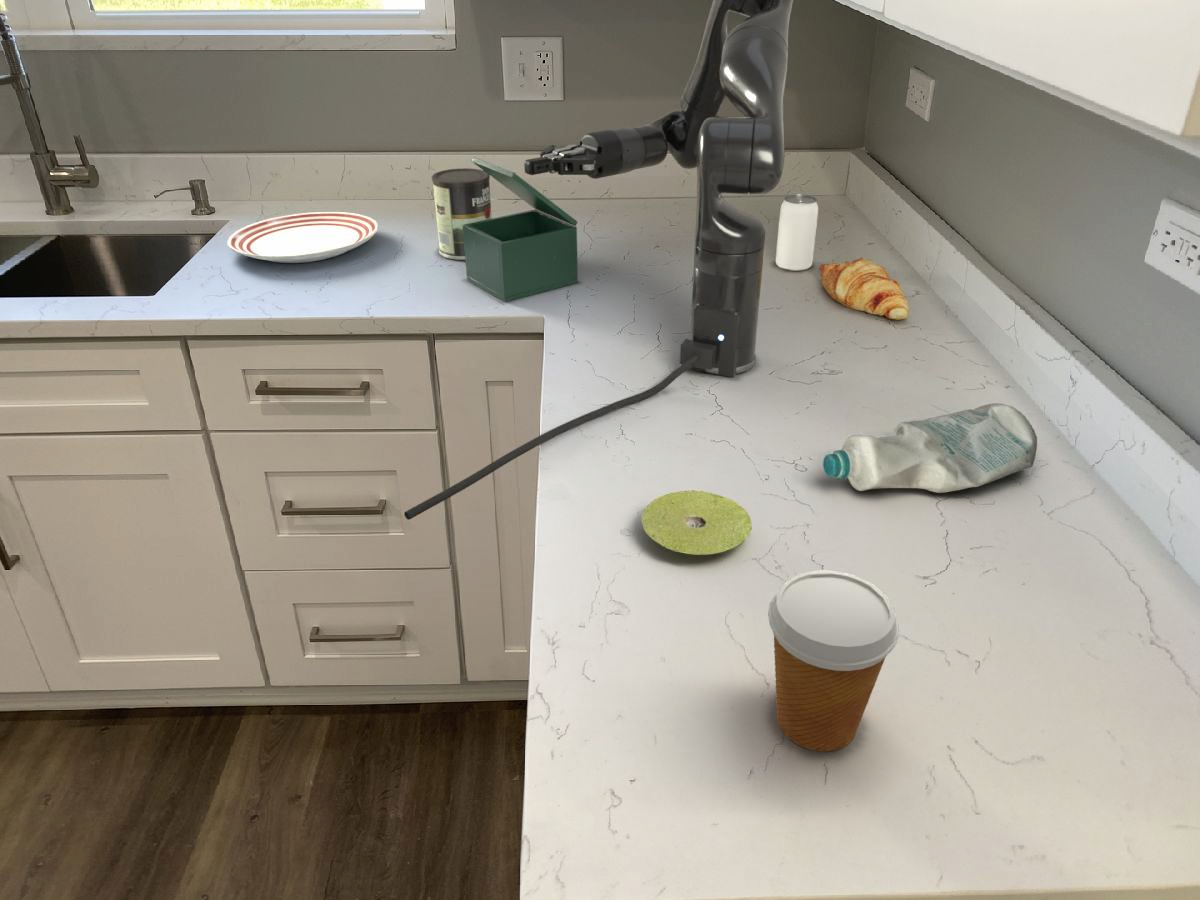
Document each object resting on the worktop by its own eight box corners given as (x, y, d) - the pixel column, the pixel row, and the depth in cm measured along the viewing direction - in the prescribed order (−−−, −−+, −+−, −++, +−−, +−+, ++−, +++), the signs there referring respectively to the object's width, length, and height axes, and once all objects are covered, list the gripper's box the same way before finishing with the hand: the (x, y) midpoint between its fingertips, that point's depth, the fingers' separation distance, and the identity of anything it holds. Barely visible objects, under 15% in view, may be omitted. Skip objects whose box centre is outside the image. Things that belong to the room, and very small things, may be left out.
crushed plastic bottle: (981, 431, 114) (794, 455, 108) (998, 381, 109) (805, 404, 104) (1049, 496, 103) (847, 527, 98) (1070, 444, 99) (860, 473, 93)
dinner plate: (198, 263, 167) (193, 246, 166) (287, 220, 190) (284, 204, 188) (329, 280, 160) (326, 261, 158) (406, 232, 182) (404, 216, 180)
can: (810, 259, 168) (817, 193, 161) (813, 272, 162) (821, 204, 156) (774, 258, 168) (780, 192, 162) (776, 271, 163) (782, 203, 156)
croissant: (915, 341, 145) (942, 295, 142) (875, 324, 139) (903, 276, 137) (829, 294, 161) (852, 252, 158) (791, 277, 155) (814, 233, 153)
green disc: (691, 492, 103) (692, 478, 102) (772, 536, 96) (774, 521, 95) (618, 534, 96) (619, 518, 95) (700, 584, 89) (701, 568, 88)
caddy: (504, 302, 151) (501, 244, 146) (466, 280, 160) (462, 224, 155) (577, 282, 158) (576, 226, 153) (537, 262, 167) (535, 209, 162)
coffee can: (503, 245, 175) (499, 170, 168) (478, 263, 167) (472, 185, 160) (456, 239, 178) (449, 165, 171) (428, 256, 170) (420, 179, 163)
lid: (511, 177, 142) (514, 172, 142) (471, 161, 151) (473, 156, 151) (575, 226, 153) (578, 222, 153) (534, 208, 162) (536, 204, 162)
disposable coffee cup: (803, 786, 69) (822, 668, 63) (734, 700, 76) (744, 586, 70) (903, 742, 72) (930, 626, 66) (828, 664, 80) (846, 553, 73)
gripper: (589, 123, 162) (504, 136, 153) (636, 136, 152) (548, 152, 144) (589, 166, 165) (507, 182, 157) (635, 182, 156) (550, 200, 148)
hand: (527, 167), depth 150 cm, fingers closed
